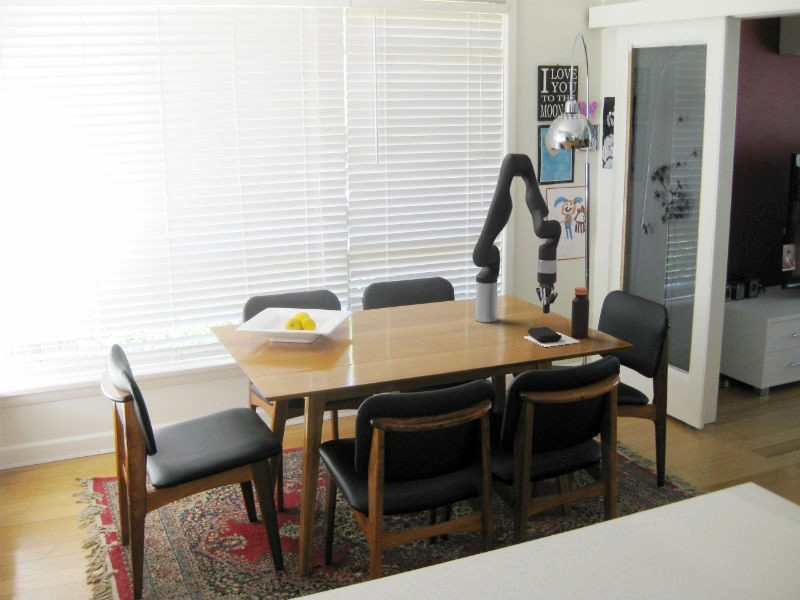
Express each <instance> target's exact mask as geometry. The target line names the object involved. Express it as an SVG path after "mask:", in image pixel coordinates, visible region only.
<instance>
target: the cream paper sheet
mask: <svg viewBox="0 0 800 600" xmlns="http://www.w3.org/2000/svg"><path fill="white" fill-rule="evenodd" d="M555 332H556V333H557V334H559V335H560V334H561V336H562V338H561V339H560V340H559V341H557V342H544V343H541V342H539V341H537V340H536V339H534V338H533V337H532V336H531V335H524V336H523V338H524V339H525V340H527V339H528V340H527V341H529V340H530V341H529V342H531V341H532V343H534V342H535V343H534V344H536V343H537V344H536V345H538V344H539V345H538V346H540V345H541V346H540V347H542V346H544V347H549V348H551V347H550V346H556V347H559V346H558V345H563V346H566V345H565V344H570V345H573V344H572V343H577V344H580V343H581V341H580V340H578V339H576V338H573V337H570V336H568V335H565V334H564V333H561V332H558V331H555ZM579 342H580V343H579ZM544 347H543V348H544Z"/></svg>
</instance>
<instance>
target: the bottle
mask: <svg viewBox="0 0 800 600" xmlns="http://www.w3.org/2000/svg"><path fill="white" fill-rule="evenodd" d="M574 296H575V297H574V298H573V299H572V301H571V320H570V322H571V324H570V336H571V338H573V337H574V338H573V339H577V338H580V339H579V340H581V339H582V340H584V339H583V338H585V339H587V338H588V337H589V322H590V300H589V298H588V297H587V296H588V287H583V286H578V287H575V288H574Z"/></svg>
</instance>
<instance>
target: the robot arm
mask: <svg viewBox="0 0 800 600" xmlns="http://www.w3.org/2000/svg"><path fill="white" fill-rule="evenodd" d="M515 177H518V178H519V177H521V179H522V181H523V182H524V184H525V196H524V197H525V198H524V199H525V203H526V206H527V207H526V208H527V209H528V211H529V213H530V215H531V219H532V225H533V231H534V234H535V236H536V237H537V238H539V240H541V239H542V240H544V239H545V240H546V241H545V242H544V243H542V244H540V245H539V246H538V255H537V256H538V261H537V283H539V285H538V287H536V288H535V291H536V294H537V297H538V300H539V302H541V304H542V313H543V314H545V315H546V314H550V310H551V304H554V302H555V301H556V299H557V297H558V295H559V293H558V292H555V283H557V282H558V281H557V278H558V277H557V276H558V273H557V272H558V268H557V267H558V262H557V252H558V247H559V243H560V241H561V236H562V225H561V223H560V221H558V220H557V219H550V220H548V219H547V220H545V218H547V217H548V216H549V214H550V210H549V207H548V205H547V203H546V201H545V199H544V197H543V194H542V193H541V190H540V187H539V183H538V180H537V175H536V172H535V169H534V165H533V162H532V160H531V158H530V157H529V155H527V154H525V153H513V152H512V153H508V154H506V155H505V156H504V157H503V159H502V162H501V166H500V170H499V173H498V179H497V182H496V183H497V184H496V187H495V190H494V193H493V196H492V199H491V203H490V204H489V208H488V211H487V213H486V219H485V220H484V221H485V222H484V224H483V226H482V228H481V229H482V230H481V233H480V235H479V238H478V239H477V242H476V243H475V246H474V248H473V252H472V258H471V259H472V262H473V264H474V266H476V267H477V268H478V267H479V268H481V270H480V271H479V272H478V273H477V274H476V276H475V298H474V299H475V309H474V310H475V311H474V312H475V313H474V315H475V316H474V317H475V321H476V322H479V323H494V322H497V320H498V278H499V276H500V270H501V269H500V268H501V252H500V249H499V247H498V246H497V245H496V244H494V243H495V241H496V239H497V238H498V236H499V235H500V233H502V231H503V230H504V229H505V227H506V225H507V224H508V222H509V220H510V217H511V214H512V212H513V200H512V195H511V194H512V193H511V186H512V182H513V179H514V178H515Z"/></svg>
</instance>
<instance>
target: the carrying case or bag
mask: <svg viewBox="0 0 800 600" xmlns="http://www.w3.org/2000/svg"><path fill="white" fill-rule="evenodd" d="M556 332H557V331H555V330H553V329H552V328H550V327H548V326H542V327H530V328H528V330H527V333H528V334H529V335H528V336H532V337H533V338H534V339H536V340H537V341H539V342H541V343H544V342H557V341H559V340H560V339H561V338H562V336H561V334H562V333H561V334H560V335H559V334H557V333H556Z"/></svg>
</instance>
